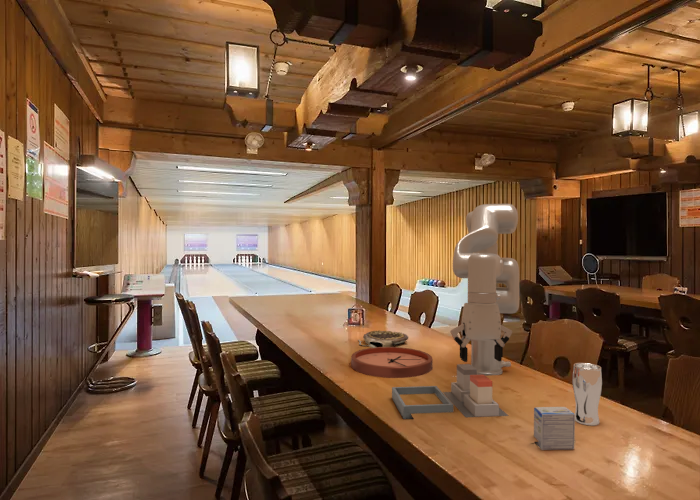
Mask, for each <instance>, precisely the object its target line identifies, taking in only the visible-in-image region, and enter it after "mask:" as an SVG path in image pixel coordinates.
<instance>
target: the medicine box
mask: <svg viewBox="0 0 700 500" xmlns="http://www.w3.org/2000/svg"><path fill="white" fill-rule="evenodd" d="M575 426H576V421H575V412H572V410H571V409H570V408H567V407H566V406H538V407H537V406H536V407H534V408H533V437H534V438H535V439H536V440H537V441H534V443H535V445H536V446H537V447H538V448H539V449H540V450H541V451H553V450H554V451H555V450H559V451H560V450H561V451H562V450H575V442H576V441H575V437H576V436H575V435H576V434H575V431H576V428H575Z"/></svg>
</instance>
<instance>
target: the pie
mask: <svg viewBox="0 0 700 500" xmlns="http://www.w3.org/2000/svg"><path fill="white" fill-rule="evenodd" d="M362 339H363V341H365V344H362V343H361V342H362V341H361V339H358V340H357V341H359V343H358V345H360V346H361V347H368V348H375V347H377V346H376V345H374V344H372V343H380V344H381V345H382V347H399V346H400V344H401V345H404V344H405V342H406V341H408V340H409V336H408V335H407V333H403V332H398V331H391V330H371V331H367V332H366V333H365V334H363V337H362ZM371 342H372V343H371ZM367 344H368V345H367Z"/></svg>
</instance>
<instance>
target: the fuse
mask: <svg viewBox="0 0 700 500" xmlns="http://www.w3.org/2000/svg"><path fill="white" fill-rule="evenodd" d="M470 375H477V369H475V368H474V367H473V366H471V364H470V363H465V364H464V363H462V364H460V363H457V364H456V382H457V386H458V387H459V388H460V389H461V390H462V391H470Z"/></svg>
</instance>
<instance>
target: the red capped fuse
mask: <svg viewBox="0 0 700 500" xmlns="http://www.w3.org/2000/svg"><path fill="white" fill-rule="evenodd" d="M470 398H471V399H472V400H473V401H474V402H475V403H476V404H492V399H493V380H492V379H490V378H489V377H487V376H485V375H470Z"/></svg>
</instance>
